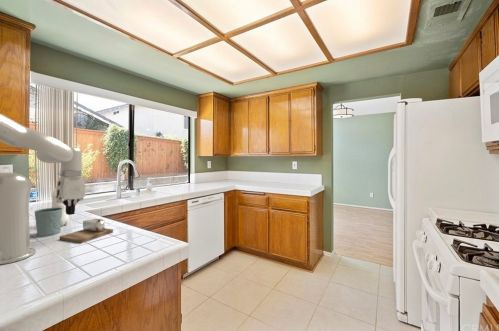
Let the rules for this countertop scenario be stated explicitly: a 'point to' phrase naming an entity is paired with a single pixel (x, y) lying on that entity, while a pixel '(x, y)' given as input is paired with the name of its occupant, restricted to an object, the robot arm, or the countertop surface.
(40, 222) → the green plant pot
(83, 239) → the lock base
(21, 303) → the countertop surface
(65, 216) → the water bottle
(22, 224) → the robot arm
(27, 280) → the countertop surface
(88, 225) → the latch bar
